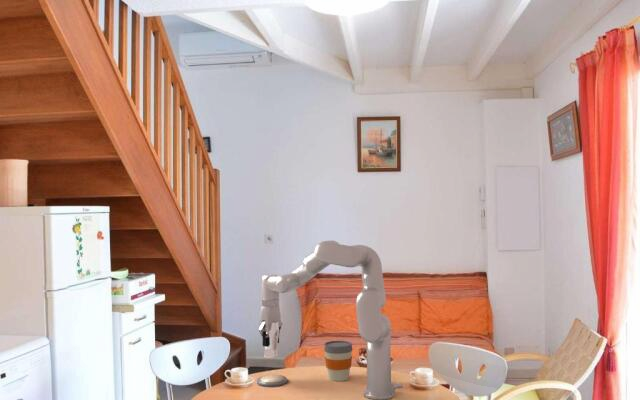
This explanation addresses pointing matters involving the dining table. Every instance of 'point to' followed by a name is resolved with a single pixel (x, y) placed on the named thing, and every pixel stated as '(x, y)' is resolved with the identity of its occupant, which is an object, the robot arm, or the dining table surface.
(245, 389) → the dining table surface
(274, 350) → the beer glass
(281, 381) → the coaster plate
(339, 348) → the reusable coffee cup
